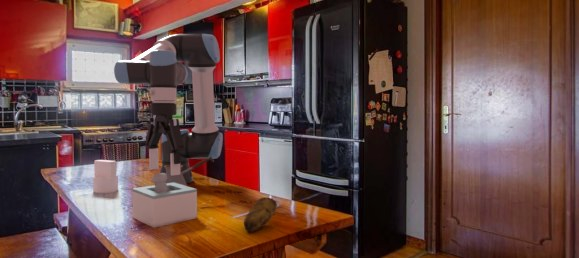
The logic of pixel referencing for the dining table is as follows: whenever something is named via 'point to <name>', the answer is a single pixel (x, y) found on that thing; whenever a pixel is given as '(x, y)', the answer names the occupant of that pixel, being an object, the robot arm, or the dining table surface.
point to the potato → (260, 214)
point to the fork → (248, 212)
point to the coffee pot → (181, 173)
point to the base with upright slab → (105, 176)
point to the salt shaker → (160, 182)
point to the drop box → (164, 204)
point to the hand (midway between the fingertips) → (164, 172)
